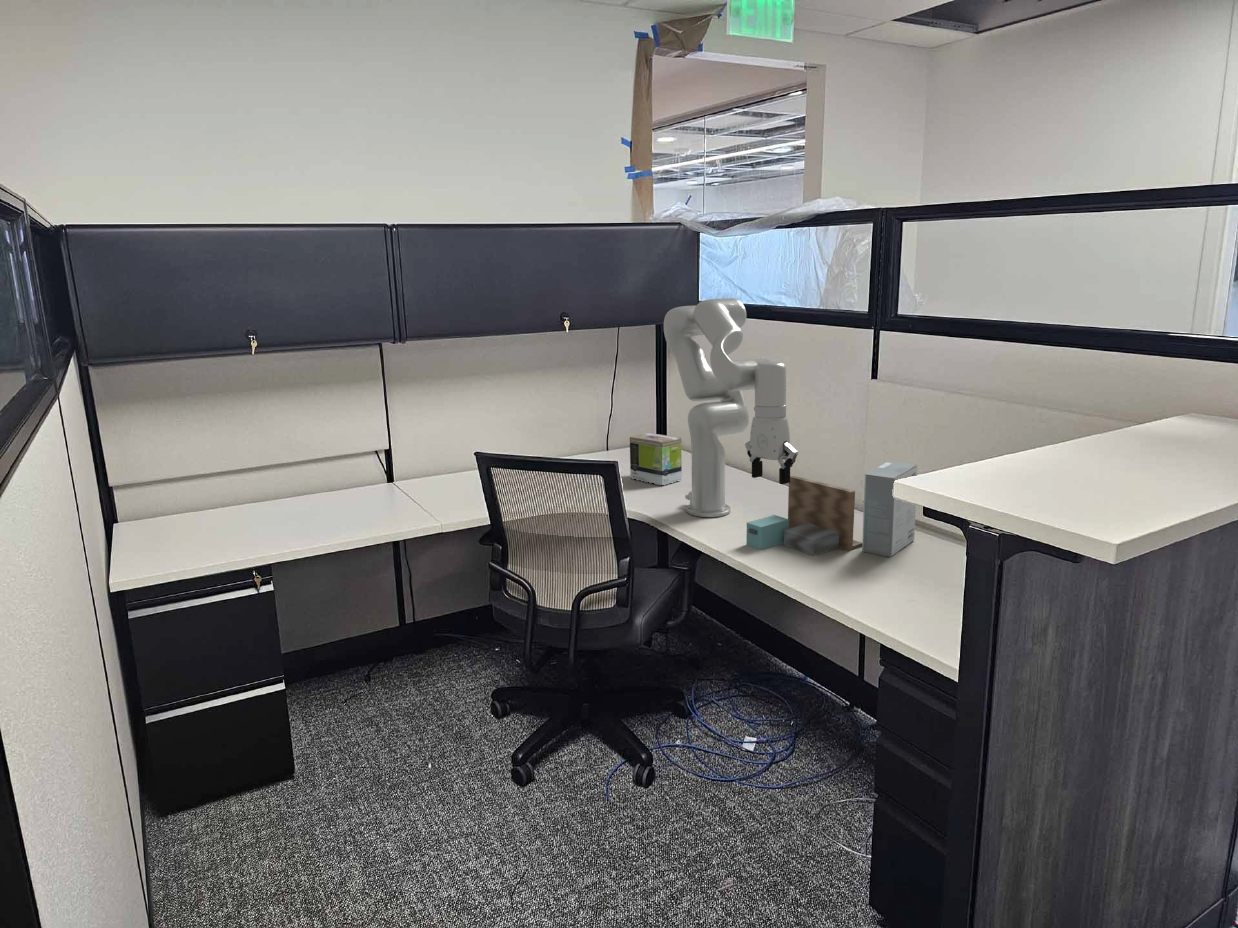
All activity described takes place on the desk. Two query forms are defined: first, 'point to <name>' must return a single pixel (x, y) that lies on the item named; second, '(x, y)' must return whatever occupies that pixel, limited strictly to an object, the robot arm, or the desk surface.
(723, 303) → the robot arm
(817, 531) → the wall board
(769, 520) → the cabinet block
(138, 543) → the desk surface
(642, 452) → the tea box
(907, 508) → the hard drive box
